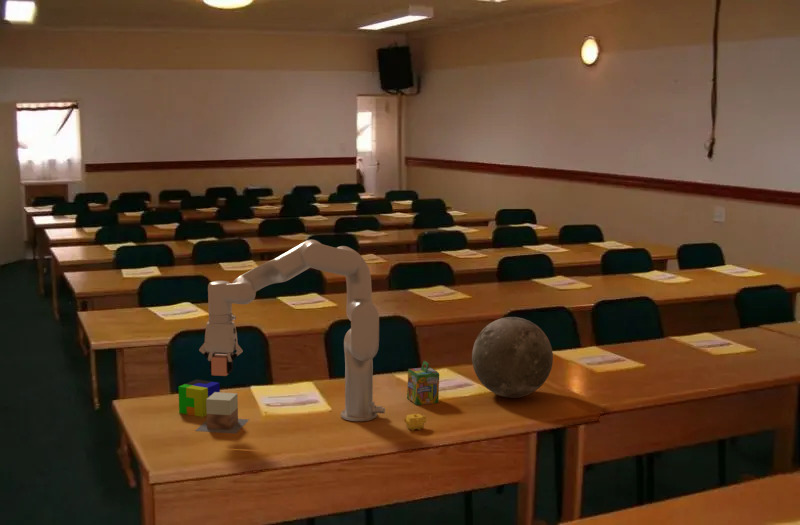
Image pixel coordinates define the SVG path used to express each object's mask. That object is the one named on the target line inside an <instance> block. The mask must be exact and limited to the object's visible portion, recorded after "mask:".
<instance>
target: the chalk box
mask: <svg viewBox="0 0 800 525" xmlns="http://www.w3.org/2000/svg"><path fill="white" fill-rule="evenodd" d="M429 365H430V363H429V362H427V361H426V360H423V362H422V365H421V367H417V368H415V367H414V368H408V370H407V390H406V392H407V393H406V399H408V400H409V401H410V402H411V403H413V404H414V405H415V406H422V405H431V404H439V394H440V392H439V391H440V373H439V371H437V370H435V368H432V367H430V366H429Z"/></svg>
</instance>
